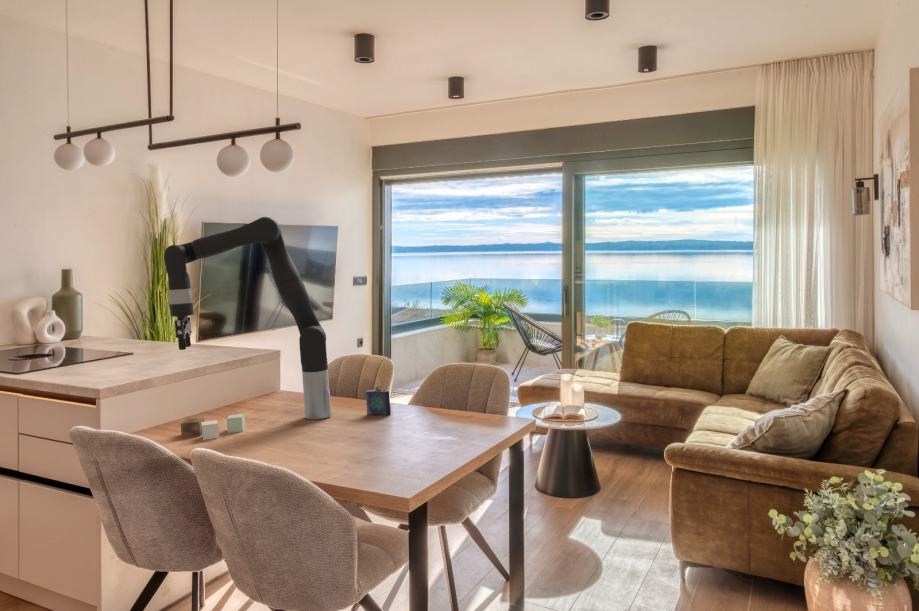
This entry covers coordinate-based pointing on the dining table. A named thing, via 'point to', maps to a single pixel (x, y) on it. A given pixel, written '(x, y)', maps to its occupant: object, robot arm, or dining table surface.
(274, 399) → the dining table surface
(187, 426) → the walnut block
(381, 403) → the flask
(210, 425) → the cream block
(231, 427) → the sage block
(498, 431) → the dining table surface
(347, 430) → the dining table surface
